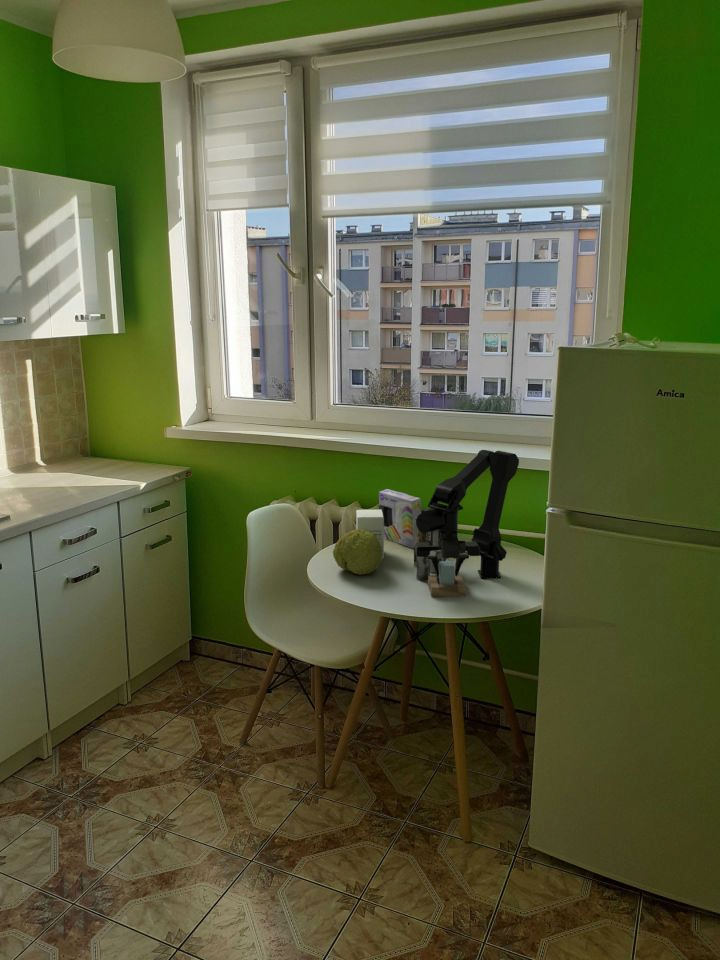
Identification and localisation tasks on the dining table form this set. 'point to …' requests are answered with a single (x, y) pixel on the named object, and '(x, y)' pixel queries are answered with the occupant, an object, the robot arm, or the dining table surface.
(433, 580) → the socket block
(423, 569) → the round peg
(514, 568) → the dining table surface
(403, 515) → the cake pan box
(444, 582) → the square peg
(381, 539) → the supplement box
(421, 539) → the coffee box
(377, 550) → the fruit
